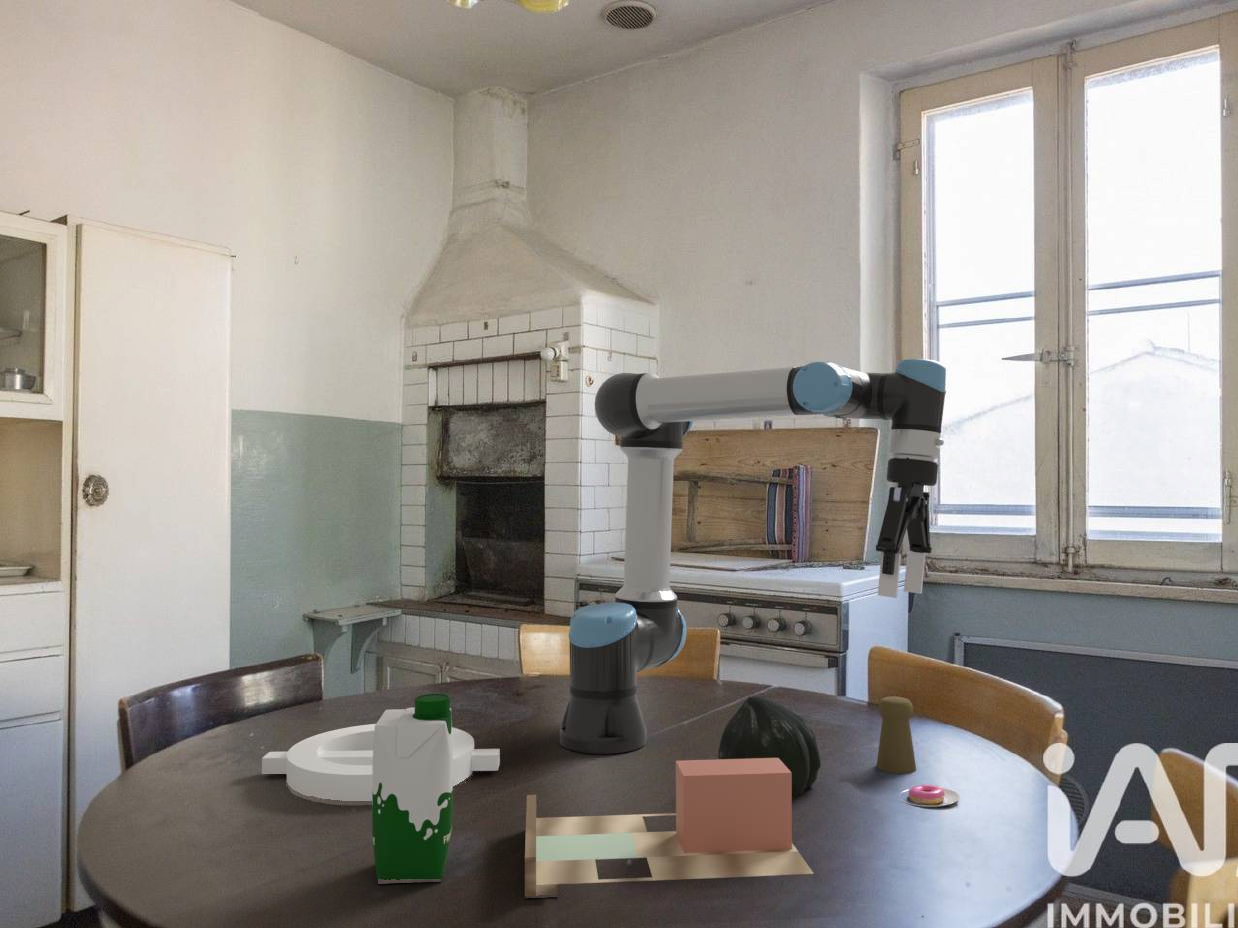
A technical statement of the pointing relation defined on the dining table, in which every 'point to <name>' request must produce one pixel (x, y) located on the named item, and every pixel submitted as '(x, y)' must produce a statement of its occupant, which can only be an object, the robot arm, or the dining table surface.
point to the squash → (772, 739)
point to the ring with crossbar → (358, 763)
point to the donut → (931, 795)
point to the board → (643, 854)
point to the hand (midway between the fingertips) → (900, 594)
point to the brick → (733, 805)
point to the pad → (585, 847)
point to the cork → (896, 736)
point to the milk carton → (413, 790)
